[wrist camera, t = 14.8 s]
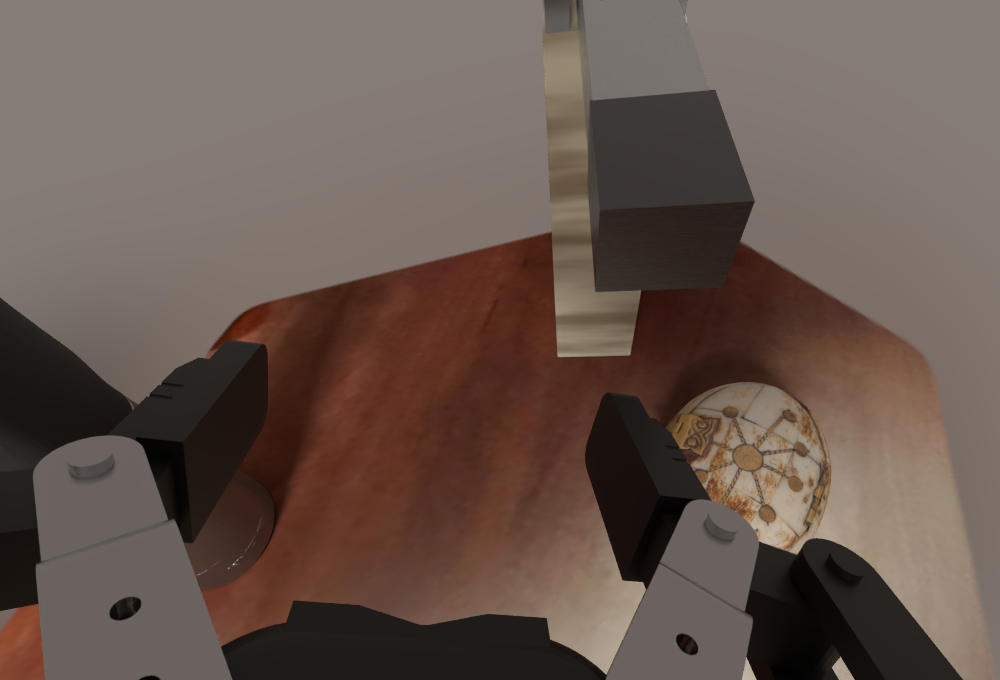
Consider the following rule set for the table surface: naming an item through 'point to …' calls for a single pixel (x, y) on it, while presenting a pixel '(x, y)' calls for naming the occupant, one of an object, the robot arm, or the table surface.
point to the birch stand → (576, 203)
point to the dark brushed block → (656, 152)
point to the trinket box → (759, 458)
